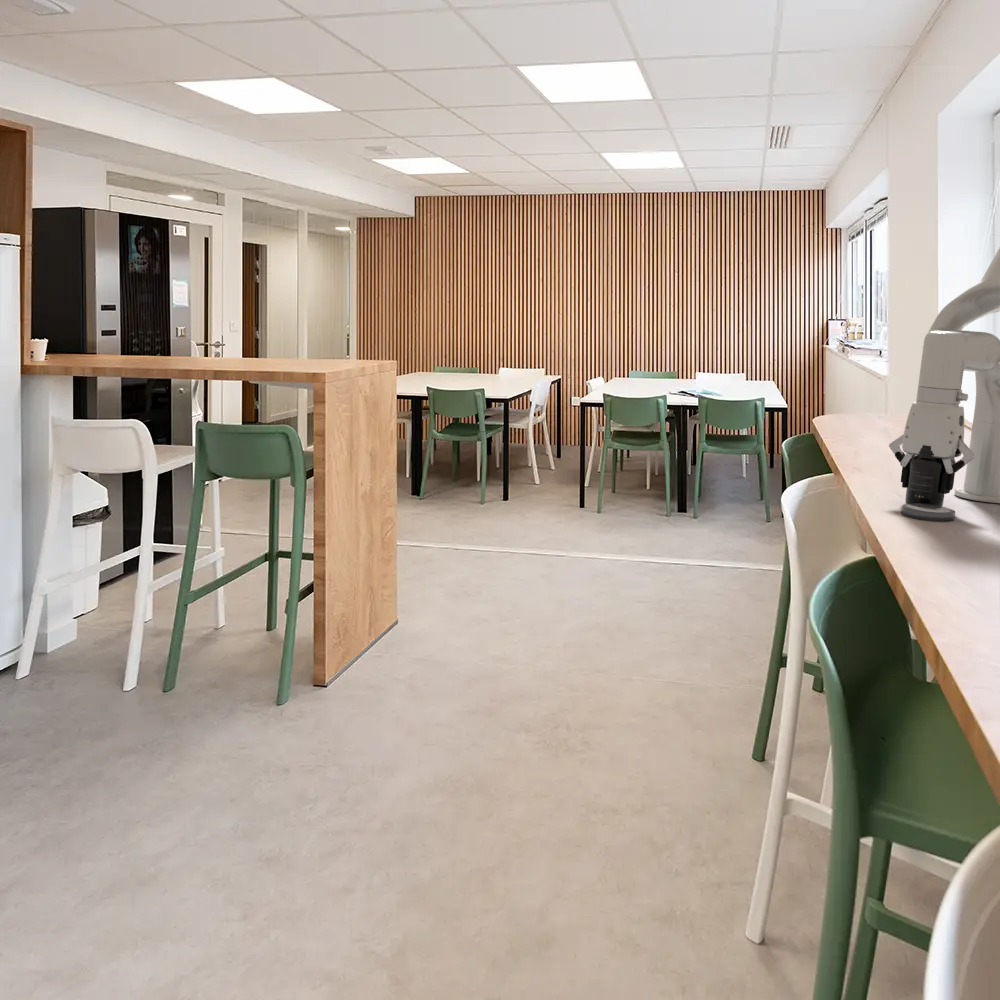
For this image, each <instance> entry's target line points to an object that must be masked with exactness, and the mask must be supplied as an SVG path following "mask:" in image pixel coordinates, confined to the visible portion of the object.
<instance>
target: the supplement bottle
mask: <svg viewBox="0 0 1000 1000" xmlns="http://www.w3.org/2000/svg"><path fill="white" fill-rule="evenodd" d="M918 454H920V455H917V456H916V457H914V458H912V459H911V461H910V465H909V473H908V482H907V488H906V489H905V490H906V494H905V504H912V503H920V504H931V505H937V506H942V507H944V499H945V494H941V493H940V491H941V484H942V477H943V473H945V472H946V469H945V466H944V463H943V460H942V459H941V458H935V457H933V456H934V453H933V451H931V446H926V445H923V446H922V448H921V449H920V452H919V453H918ZM931 455H932V456H931Z"/></svg>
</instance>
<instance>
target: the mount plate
mask: <svg viewBox="0 0 1000 1000" xmlns="http://www.w3.org/2000/svg"><path fill="white" fill-rule="evenodd" d="M900 511H901V512H900V514H901V515H902V516H904V517H908V518H911V519H916V520H921V521H927V522H929V521H930V522H938V523H939V522H945V523H946V522H953V521H954V520H955V515H956V514H955V513H956V510H954V509H952V508H948V507H946V506H937V505H931V504H920V503H912V504H906V503H905V504H902V505H901V509H900Z"/></svg>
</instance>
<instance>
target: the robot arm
mask: <svg viewBox="0 0 1000 1000" xmlns="http://www.w3.org/2000/svg"><path fill="white" fill-rule="evenodd" d="M998 312H1000V247H999V248H998V250H997V252H996V253H995V255H994V257H993V258H992V260H991V262H990V264H989V266H988V267H987V269H986V271H985V273H984V274H983V277H982V279H980V281H979V282H977V283H976V284H974V285H973V286H971V287H969V288H968V289H966V290H965V291H963V292H962V293H961V294H959V295H957V297H955V298H954V299H953V300H951V301H950V302H949V303H947V304H946V305H945V306H944V307H943V308H942V309H941V310H940V311H939V313H938V314H937V316H936V317H935V319H934V321H933V322H932V325H931V326H930V329H929V330H928V332H927V333H926V334H925V337H924V340H923V347H922V355H921V361H920V362H921V363H920V368H919V369H920V370H919V376H918V377H919V378H918V384H917V385H918V386H917V392H916V399H915V401H914V402H912V404H911V407H910V409H909V412H908V416H907V419H906V422H905V427H904V431H903V432H904V433H903V434H902V435H900V436H899V437H897V438H896V439H894V440H893V441H892V442H890V443H889V444H888V447H889V449H890V451H892V453H893V454H894V457H895V458H896V460H897V461H898V462H899V464H900V466H901V467H902V468H901V474H900V475H901V477H900V482H901V487H902V488H903V489H907V482H908V473H909V465H910V461H911V459H912V458H914V457H916V456H917V455H920V454H918V453H919V452H920V449H921V448H922V446H923V445H926V446H931V451H933V453H934V456H933V457H935V458H941V459H942V460H943V463H944V466H945V469H946V472H945V473H943V477H942V484H941V491H940V493H941V494H944V495H946V494H950V492H951V491H952V490H953V488H954V483H955V476H956V475H955V474H956V473H957V472H958V471H959V470H961V469H962V468H964V467H965V466H966V467H965V474H964V482H963V486H962V487H956V488H955V489H954V495H955V496H957V497H959V498H962V499H966V500H971V501H976V502H982V503H983V502H984V503H991V504H1000V338H999V337H998V336H996V335H994V334H992V333H990V332H987V331H986V332H984V331H974V330H973V331H972V330H963V329H965V327H967V326H968V325H969V324H971V323H973V322H974V321H977V320H979V319H981V318H983V317H985V316H986V317H987V316H989V315H992V314H996V313H998ZM964 371H966V372H974V374H975V404H974V412H973V419H972V426H971V433H970V434H971V435H970V439H969V440H970V441H969V446H968V445H967V444H966V443H965V442H964V441H965V440H964V439H965V438H964V437H965V408H964V406H963V405H962V406H961V405H960V404H961V402H968V399H969V395H968V393H964V392H963V389H962V384H963V377H964ZM901 447H902V449H901ZM931 456H932V455H931ZM961 456H962V458H961V459H959V460H958V461H956V459H955V458H959V457H961Z"/></svg>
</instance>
